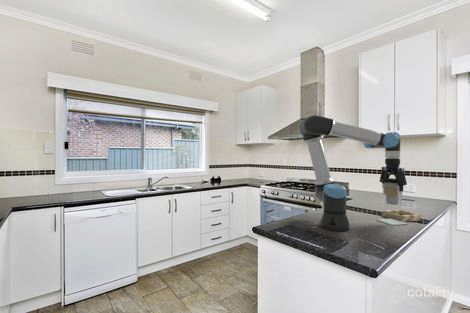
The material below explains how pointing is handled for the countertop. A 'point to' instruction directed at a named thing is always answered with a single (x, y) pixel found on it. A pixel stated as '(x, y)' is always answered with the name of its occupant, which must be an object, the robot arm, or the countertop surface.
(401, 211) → the holder
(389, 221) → the coaster
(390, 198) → the coffee cup
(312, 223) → the countertop surface
